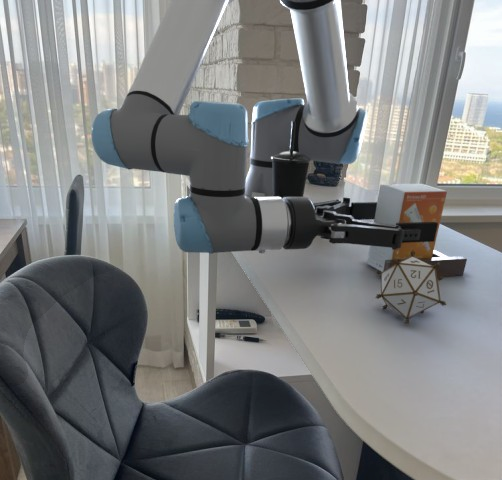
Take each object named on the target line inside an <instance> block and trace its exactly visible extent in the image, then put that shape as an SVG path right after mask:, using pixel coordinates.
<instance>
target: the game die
mask: <svg viewBox="0 0 502 480" xmlns="http://www.w3.org/2000/svg"><path fill="white" fill-rule="evenodd" d="M414 255H415V252H414V250H412V251H411V256H410V257H408V258H406V259H404V260H402V261H400V262H399V260H398V259H396V258H395V260H394V262H395V263H396V264H395V265H393V266H391V267H390V268H388V269H386V270H385V271H383V272H381V270H378V269H375V273H376V274H377V275H380V293H378V294H376V296H374V298H375V299H380V298H382V300H383V302H384V305H383V306H382V310H387V309H388V308H389V309H390V310H392V311H393V312H395V313H396V314H398V315H400V316H401V317H403V318H404V324H405V326H406V327H407V326H408V325H409V324H410V320H409V319H411V318H413V317H415V316H417V315H419V314H424V313H425V311H426V310H429V309H430V308H432V307H434V306H437V305H439V304H440V305H441V306H443V307H444V306H447V302H446V301H444V300H442V299H441V293H440V292H441V291H440V286H439V284H440V283H439V281H442V280H443V278H444V277H442V276H438V277H437V272H436V267H438V266H440V262H439V263H437V262H436V264H435V265H434V266H433V265H431V264H428V263H426V262H424V261H422V260H420V259H418V258H416V257H414Z"/></svg>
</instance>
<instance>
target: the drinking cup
mask: <svg viewBox="0 0 502 480" xmlns="http://www.w3.org/2000/svg"><path fill="white" fill-rule="evenodd" d="M295 125H296V122H292V130H291V142H290V151H283V152H280V153H278V154H276V155H274V156H271V160H272V172H273V197H275V196H279V197H281V198H282V199H283V198H284V197H304V193H305V188H306V184H307V183H306V182H307V176H308V171H309V166H310V163H311V162H312V161H311V159H310V158H308V157H307V156H305V155H304V154H302V153H300V152H296V151H293V149H294V137H295Z"/></svg>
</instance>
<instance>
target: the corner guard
mask: <svg viewBox="0 0 502 480" xmlns="http://www.w3.org/2000/svg"><path fill="white" fill-rule="evenodd" d="M418 259H420V260H422V261H424V262H426V263H428V264H431V265H433V266H434V265H435V264H436V262H437V263H439V262H440V266H438V267H436V272H437V277H438V276H442V277H443V278H444V277H459V276H464V273H465V269H466V264H467V261H468V259H467V258H466V257H464V256H459V255H458V256H447V255H446V254H443V253H441V252H440V251H437V250H435V249H434V251H433V255H432V258H418ZM398 260H399V262H400V261H402V260H404V259H398ZM395 264H396V263H395V262H394V260H385V264H384V270H383V271H385V270H386V269H388V268H390V267H391V266H393V265H395Z"/></svg>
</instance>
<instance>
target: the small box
mask: <svg viewBox="0 0 502 480" xmlns="http://www.w3.org/2000/svg"><path fill="white" fill-rule="evenodd" d="M378 189H379V190H378V195H377V201H376V202H377V207H376V213H375V219H373V222H376V223H383V224H390V225H396V223H413V222H436V223H438V226H437V231H436V235H435V240H434V242H409V243H402V244H401V248H397V249H396V250H393V249H392V248H390V247H379V246H369V250H368V256H367V261H366V263H367V265H369V266H370V267H372V268H374V269H375V270H381V272H383V270H384V264H385V260H395V258H396V259H406V258H408V257H410V256H411V251H412V250H414V252H415V255H414V257H416V258H432V255H433V251H434V250H435V246H436V242H437V238H438V233H439V230H440V225H441V220H442V217H443V211H444V207H445V202H446V199H447V193H448V191H447V190H445V189H441V188H438V187H434V186H431V185H427V184H425V183H395V184H393V183H392V184H379V188H378Z"/></svg>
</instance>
